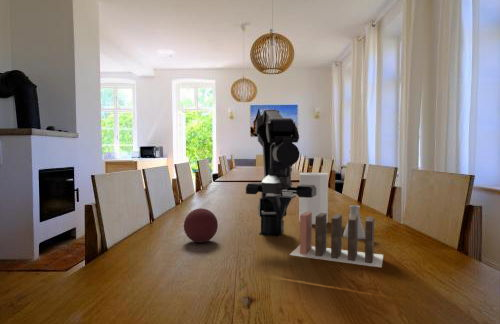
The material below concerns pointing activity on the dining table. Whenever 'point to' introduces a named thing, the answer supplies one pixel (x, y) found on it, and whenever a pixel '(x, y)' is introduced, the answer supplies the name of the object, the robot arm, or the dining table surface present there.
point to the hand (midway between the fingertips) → (280, 220)
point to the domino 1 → (305, 232)
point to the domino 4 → (352, 237)
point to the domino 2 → (320, 234)
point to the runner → (341, 257)
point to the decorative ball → (200, 225)
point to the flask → (355, 211)
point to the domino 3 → (336, 235)
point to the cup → (317, 202)
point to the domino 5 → (369, 239)
